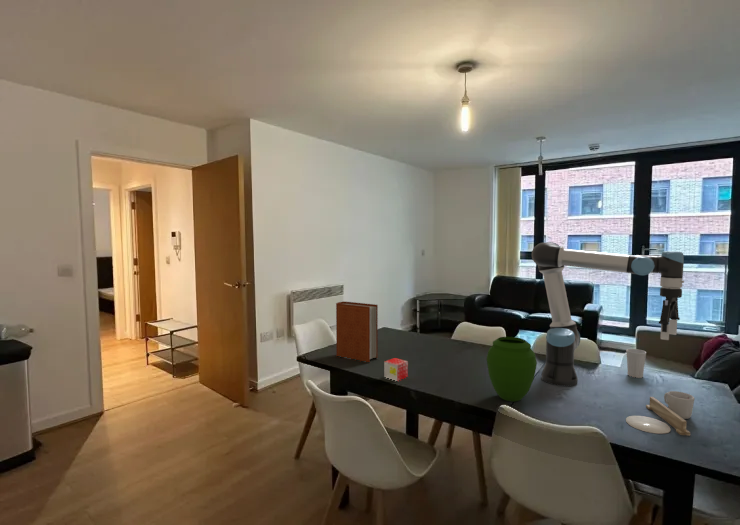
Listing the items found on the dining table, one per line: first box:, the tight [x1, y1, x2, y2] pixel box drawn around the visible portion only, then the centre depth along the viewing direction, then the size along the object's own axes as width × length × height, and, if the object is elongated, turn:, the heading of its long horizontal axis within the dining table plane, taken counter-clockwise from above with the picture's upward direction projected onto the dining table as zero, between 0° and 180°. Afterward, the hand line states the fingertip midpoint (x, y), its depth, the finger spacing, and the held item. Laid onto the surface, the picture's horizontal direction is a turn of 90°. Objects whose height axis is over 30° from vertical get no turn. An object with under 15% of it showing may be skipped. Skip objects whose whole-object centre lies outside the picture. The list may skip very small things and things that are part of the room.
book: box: [335, 301, 379, 363], centre depth 221 cm, size 23×8×30 cm, turn 58°
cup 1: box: [626, 348, 647, 379], centre depth 192 cm, size 8×8×12 cm
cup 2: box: [663, 390, 695, 420], centre depth 150 cm, size 11×8×8 cm
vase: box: [486, 336, 538, 403], centre depth 165 cm, size 20×20×24 cm
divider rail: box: [645, 396, 691, 436], centre depth 145 cm, size 3×22×4 cm, turn 171°
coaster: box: [625, 415, 671, 435], centre depth 142 cm, size 13×13×1 cm
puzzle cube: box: [383, 357, 409, 382], centre depth 190 cm, size 8×8×8 cm
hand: (668, 336), depth 172 cm, fingers open, 13 cm apart
